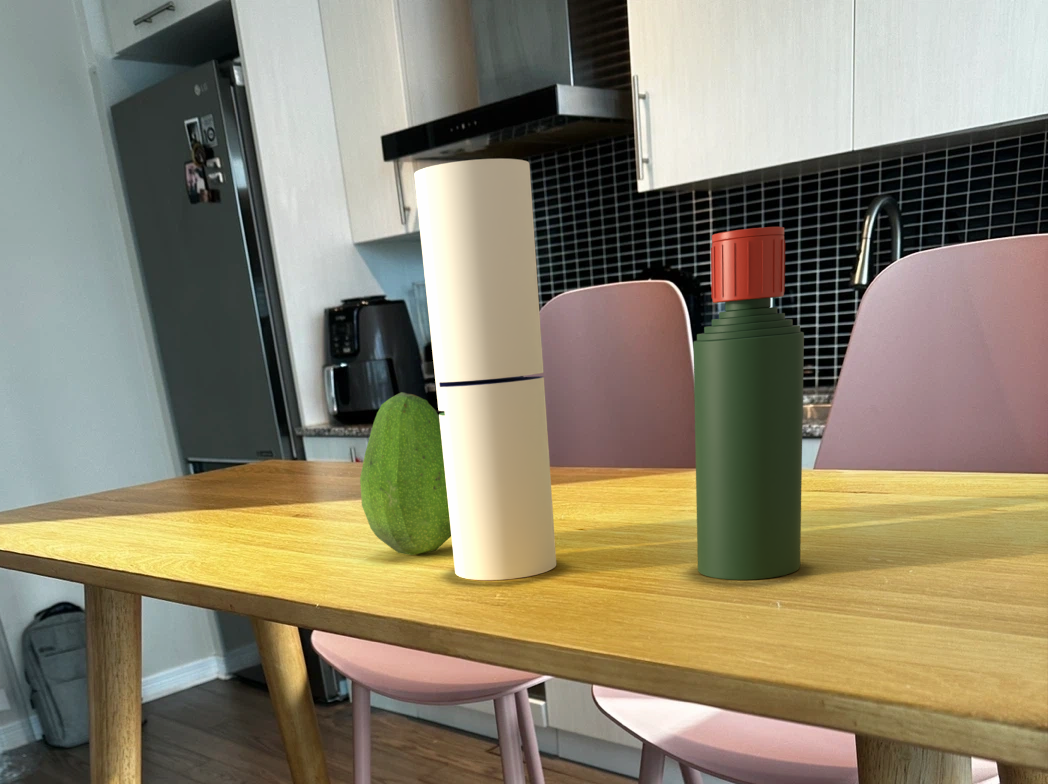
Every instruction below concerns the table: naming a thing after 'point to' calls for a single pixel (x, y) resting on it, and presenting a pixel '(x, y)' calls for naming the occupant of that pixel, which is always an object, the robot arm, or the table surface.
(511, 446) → the cylindrical container
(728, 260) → the cap
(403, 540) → the avocado
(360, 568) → the table surface
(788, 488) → the bottle
